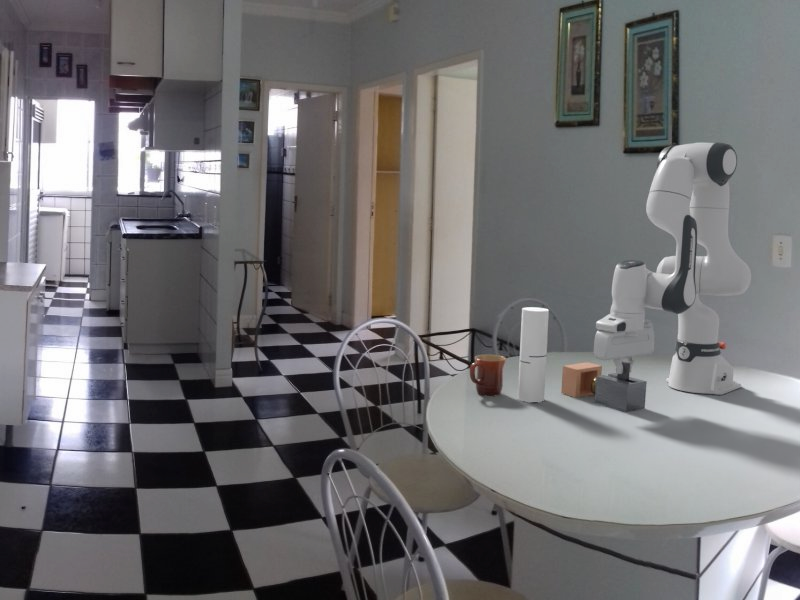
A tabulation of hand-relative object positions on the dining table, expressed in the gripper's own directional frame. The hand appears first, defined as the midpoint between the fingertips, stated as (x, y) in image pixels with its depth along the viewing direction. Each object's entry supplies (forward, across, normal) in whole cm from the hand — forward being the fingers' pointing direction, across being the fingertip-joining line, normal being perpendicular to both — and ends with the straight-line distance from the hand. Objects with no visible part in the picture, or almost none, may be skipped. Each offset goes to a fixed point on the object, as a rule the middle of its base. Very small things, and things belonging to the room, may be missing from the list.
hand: (623, 372), depth 214 cm
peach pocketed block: (+9, 0, -15) cm, 17 cm away
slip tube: (+8, 0, -3) cm, 8 cm away
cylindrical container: (+9, +17, -17) cm, 26 cm away
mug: (+9, +25, -27) cm, 38 cm away
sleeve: (+9, 0, -1) cm, 9 cm away
